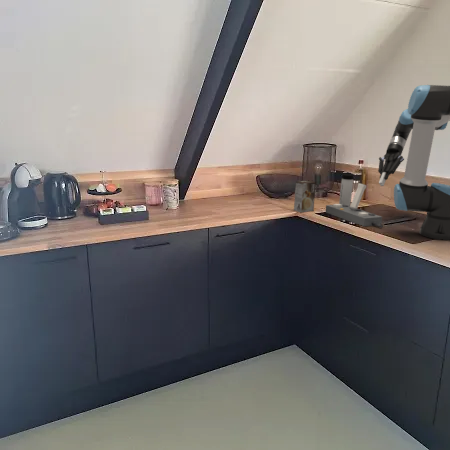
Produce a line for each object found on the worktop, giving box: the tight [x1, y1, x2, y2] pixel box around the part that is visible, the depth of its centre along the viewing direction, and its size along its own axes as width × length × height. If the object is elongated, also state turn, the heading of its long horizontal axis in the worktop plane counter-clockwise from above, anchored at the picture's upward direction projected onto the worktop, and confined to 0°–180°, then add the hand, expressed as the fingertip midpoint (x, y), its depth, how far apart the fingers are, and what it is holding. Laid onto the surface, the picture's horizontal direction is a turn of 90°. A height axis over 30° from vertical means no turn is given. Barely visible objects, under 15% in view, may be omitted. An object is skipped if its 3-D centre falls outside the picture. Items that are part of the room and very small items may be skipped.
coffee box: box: [293, 180, 316, 213], centre depth 230 cm, size 9×6×16 cm
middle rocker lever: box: [349, 182, 368, 211], centre depth 217 cm, size 4×2×14 cm, turn 24°
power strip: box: [325, 203, 384, 229], centre depth 216 cm, size 36×11×5 cm, turn 24°
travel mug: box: [338, 171, 355, 206], centre depth 241 cm, size 6×7×20 cm
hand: (381, 184), depth 211 cm, fingers closed
